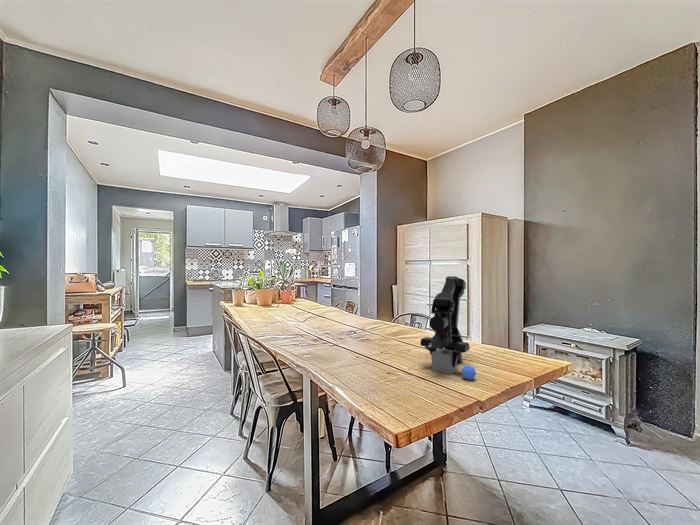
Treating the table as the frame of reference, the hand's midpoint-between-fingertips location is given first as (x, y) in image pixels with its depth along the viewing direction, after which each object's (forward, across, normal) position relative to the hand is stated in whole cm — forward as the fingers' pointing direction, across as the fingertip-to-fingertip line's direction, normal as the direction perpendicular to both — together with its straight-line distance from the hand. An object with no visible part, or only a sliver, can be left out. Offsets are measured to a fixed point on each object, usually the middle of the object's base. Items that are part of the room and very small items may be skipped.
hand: (444, 365), depth 124 cm
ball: (0, +11, -4) cm, 12 cm away
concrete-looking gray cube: (+2, 0, 0) cm, 2 cm away
